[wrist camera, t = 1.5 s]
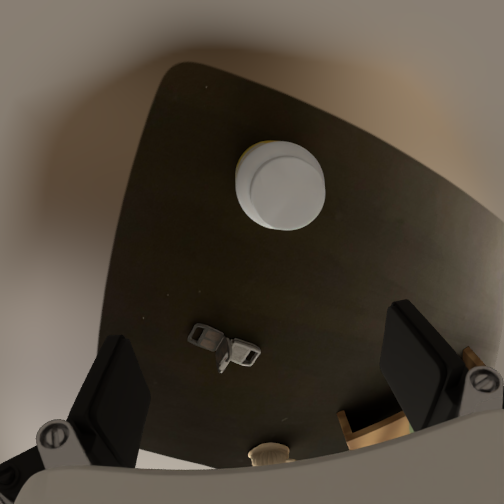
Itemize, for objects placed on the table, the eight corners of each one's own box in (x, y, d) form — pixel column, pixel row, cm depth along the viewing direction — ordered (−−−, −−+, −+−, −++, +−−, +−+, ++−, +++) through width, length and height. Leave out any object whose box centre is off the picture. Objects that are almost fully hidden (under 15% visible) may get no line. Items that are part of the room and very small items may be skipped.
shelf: (468, 346, 41) (498, 379, 32) (464, 389, 45) (487, 420, 37) (336, 412, 43) (351, 458, 34) (350, 446, 47) (363, 485, 39)
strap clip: (262, 346, 37) (265, 369, 33) (250, 363, 38) (252, 387, 34) (196, 320, 35) (193, 342, 31) (186, 338, 36) (182, 361, 32)
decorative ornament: (246, 444, 44) (248, 470, 39) (298, 438, 45) (303, 464, 40) (248, 456, 46) (250, 481, 41) (297, 451, 46) (302, 475, 41)
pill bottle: (311, 190, 31) (353, 220, 20) (251, 216, 32) (262, 261, 21) (285, 129, 29) (317, 126, 18) (223, 156, 29) (218, 168, 18)
